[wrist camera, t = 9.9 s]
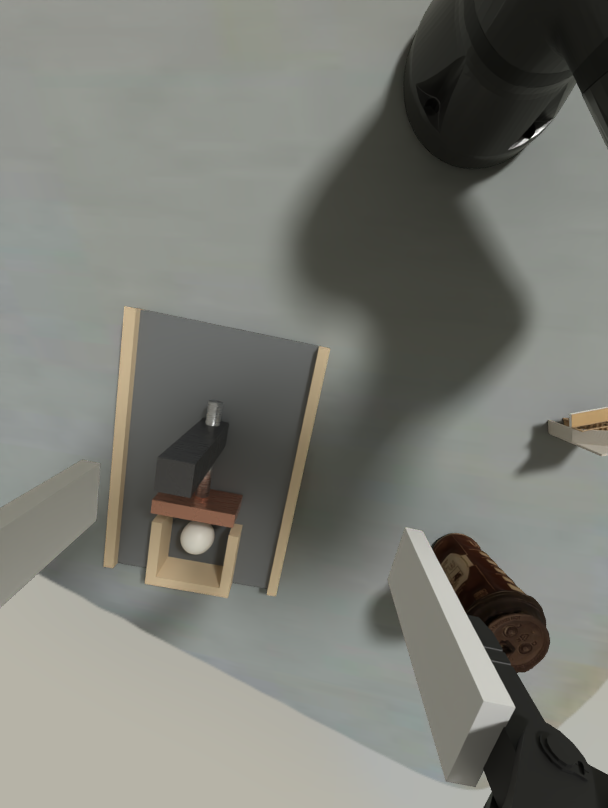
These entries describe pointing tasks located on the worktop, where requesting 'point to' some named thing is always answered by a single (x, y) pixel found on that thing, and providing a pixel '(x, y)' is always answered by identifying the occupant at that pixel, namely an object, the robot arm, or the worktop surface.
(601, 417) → the architectural model
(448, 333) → the worktop surface
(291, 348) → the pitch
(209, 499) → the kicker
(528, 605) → the coffee cup
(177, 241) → the worktop surface
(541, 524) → the worktop surface
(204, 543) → the ball
